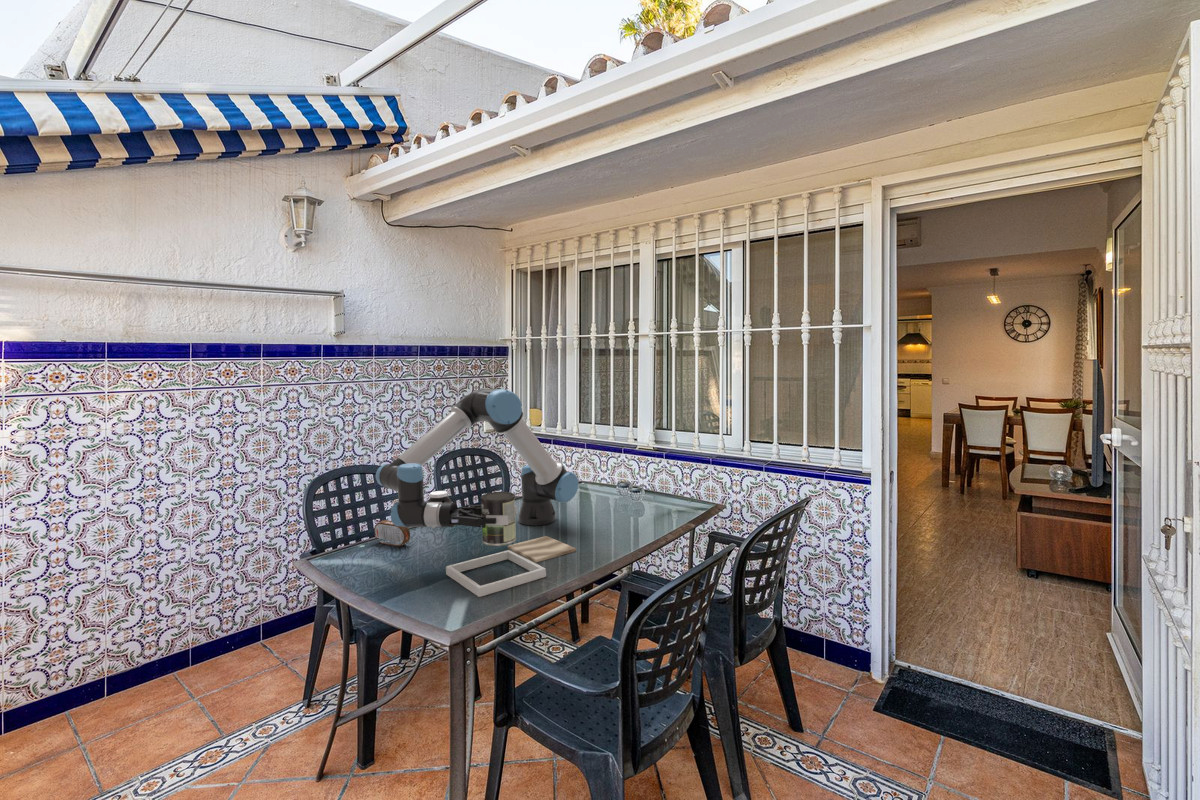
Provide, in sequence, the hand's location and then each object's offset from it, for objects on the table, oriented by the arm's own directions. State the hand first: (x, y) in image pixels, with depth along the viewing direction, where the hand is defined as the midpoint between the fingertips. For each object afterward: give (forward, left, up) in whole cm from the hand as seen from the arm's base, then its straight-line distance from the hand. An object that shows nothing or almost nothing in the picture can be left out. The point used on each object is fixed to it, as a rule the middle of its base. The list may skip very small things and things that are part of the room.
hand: (512, 515), depth 173 cm
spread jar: (-67, +5, -18) cm, 70 cm away
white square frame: (-1, -6, -18) cm, 19 cm away
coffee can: (-3, -3, -8) cm, 9 cm away
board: (-11, +17, -18) cm, 27 cm away
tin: (-52, -20, -18) cm, 59 cm away
